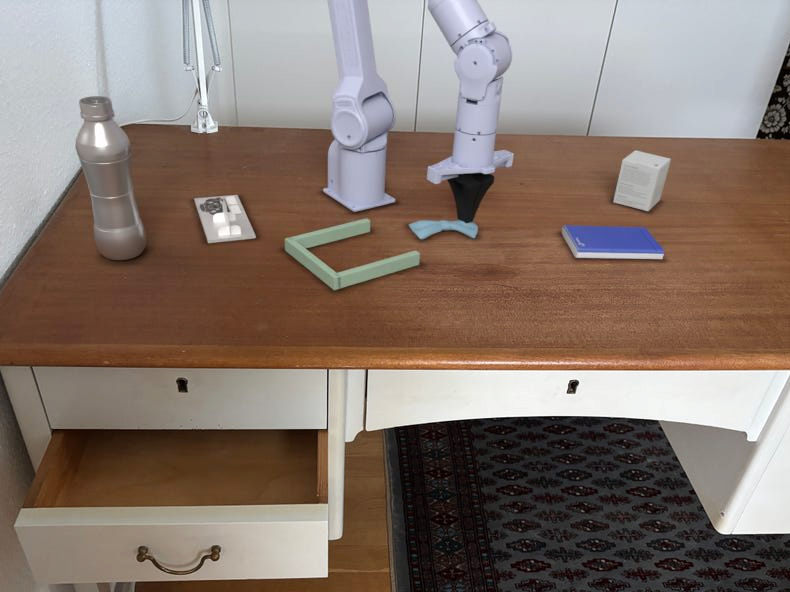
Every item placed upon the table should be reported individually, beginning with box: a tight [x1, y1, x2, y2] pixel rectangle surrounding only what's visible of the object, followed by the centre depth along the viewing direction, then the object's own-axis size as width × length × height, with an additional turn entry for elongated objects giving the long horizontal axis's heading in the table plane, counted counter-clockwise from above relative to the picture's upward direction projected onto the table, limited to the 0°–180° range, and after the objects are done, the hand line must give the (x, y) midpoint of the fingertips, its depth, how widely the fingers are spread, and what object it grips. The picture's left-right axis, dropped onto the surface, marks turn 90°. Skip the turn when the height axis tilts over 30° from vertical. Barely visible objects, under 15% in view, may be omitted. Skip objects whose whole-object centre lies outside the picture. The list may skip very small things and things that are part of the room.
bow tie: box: [408, 219, 479, 240], centre depth 105 cm, size 10×2×5 cm
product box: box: [612, 150, 672, 212], centre depth 116 cm, size 6×6×7 cm
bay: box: [284, 217, 421, 291], centre depth 97 cm, size 13×14×2 cm
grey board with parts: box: [193, 194, 257, 244], centre depth 105 cm, size 15×7×4 cm, turn 19°
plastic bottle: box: [74, 95, 147, 261], centre depth 90 cm, size 6×7×20 cm
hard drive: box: [561, 224, 665, 260], centre depth 103 cm, size 2×8×12 cm
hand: (465, 220), depth 107 cm, fingers closed
